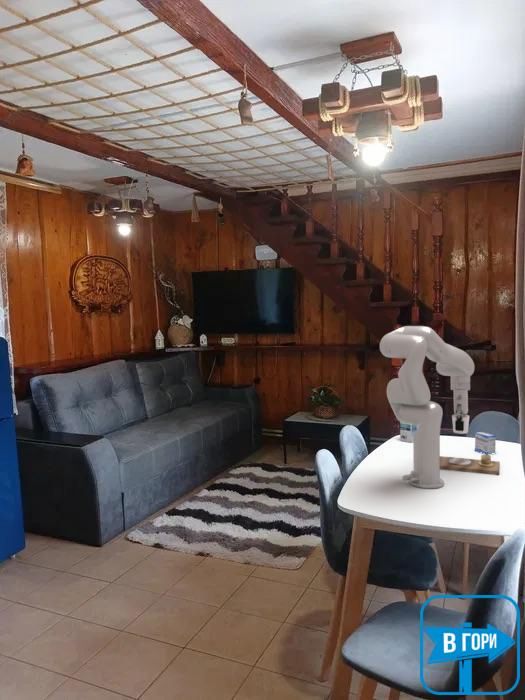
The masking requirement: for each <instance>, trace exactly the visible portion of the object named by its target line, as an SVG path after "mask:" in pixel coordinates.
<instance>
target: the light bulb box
mask: <svg viewBox="0 0 525 700" xmlns="http://www.w3.org/2000/svg"><path fill="white" fill-rule="evenodd" d="M399 425H400V426H399V427H400V428H399V438H400V442H405V443H412V444H413V438H414V434H415V433H416V431H417V430H418V429H419V427H420V426H419V425H415V424H408V423H403V422H400V421H399Z"/></svg>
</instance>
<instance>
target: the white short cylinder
mask: <svg viewBox="0 0 525 700" xmlns="http://www.w3.org/2000/svg"><path fill="white" fill-rule="evenodd" d="M451 419H452V431H453V433H455V434H462V435H463V434H464V435H465V434H468V432H469V425H470V424H469V423H470V415H468V414H466V415H465V414H463V421H464V431H456V430H455V421H456V414H455V413H454V414H452V415H451Z"/></svg>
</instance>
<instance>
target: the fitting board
mask: <svg viewBox="0 0 525 700" xmlns="http://www.w3.org/2000/svg"><path fill="white" fill-rule="evenodd" d="M500 464H501V463H500V461H499V460H498V461H497V460H496V461H495V460H492V456H491V455H487V454H481V456H480V459H473V458H466V457H465V458H463V457H452V456H441V455H440V470H445V471H453V470H454V472H455V471H456V472H463V473H464V472H465V473H474V474H475V473H476V474H485V475H493V476H495V475H496V476H500V467H501V466H500ZM494 474H495V475H494Z"/></svg>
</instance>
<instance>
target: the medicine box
mask: <svg viewBox="0 0 525 700" xmlns="http://www.w3.org/2000/svg"><path fill="white" fill-rule="evenodd" d="M474 435H475V436H474V438H475V441H474V451H475V452H476V451H479V452H478V453H480V452H482V453H481V454H483V453H485V454H484V455H487V454H492V453H495V454H496V439H497V438H496V435H495V434H491V433H487V432H483V431H479V432H475V434H474ZM492 455H493V454H492Z"/></svg>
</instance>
